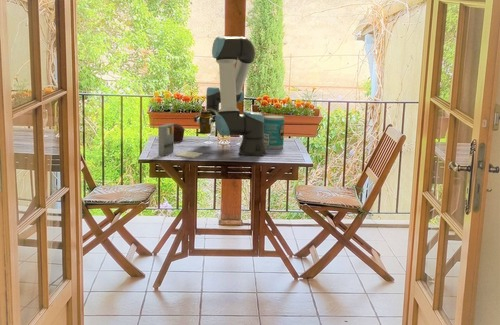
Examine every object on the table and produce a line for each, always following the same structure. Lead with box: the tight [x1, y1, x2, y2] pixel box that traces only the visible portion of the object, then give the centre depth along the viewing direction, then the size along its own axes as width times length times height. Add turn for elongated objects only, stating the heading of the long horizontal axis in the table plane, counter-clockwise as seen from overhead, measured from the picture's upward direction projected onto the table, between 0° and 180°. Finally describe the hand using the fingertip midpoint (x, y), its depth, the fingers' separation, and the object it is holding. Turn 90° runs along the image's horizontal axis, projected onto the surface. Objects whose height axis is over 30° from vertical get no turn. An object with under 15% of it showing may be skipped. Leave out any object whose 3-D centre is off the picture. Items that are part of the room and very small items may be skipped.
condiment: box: [194, 110, 214, 135], centre depth 398 cm, size 7×8×12 cm
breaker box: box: [158, 122, 175, 157], centre depth 391 cm, size 4×12×16 cm, turn 160°
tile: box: [175, 150, 203, 159], centre depth 392 cm, size 11×11×1 cm
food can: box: [263, 114, 285, 150], centre depth 420 cm, size 12×12×18 cm
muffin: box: [173, 123, 186, 143], centre depth 433 cm, size 12×11×10 cm
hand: (203, 121), depth 393 cm, fingers closed on condiment, 6 cm apart
